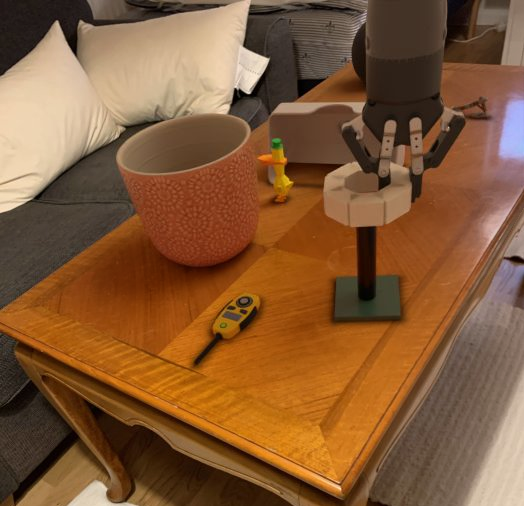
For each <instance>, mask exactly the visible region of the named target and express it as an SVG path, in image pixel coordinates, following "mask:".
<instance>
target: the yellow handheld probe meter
mask: <svg viewBox="0 0 524 506" xmlns="http://www.w3.org/2000/svg"><path fill="white" fill-rule="evenodd" d="M260 306H261V299H260V297H259V295H257V294H255V293H250V292H242V293H240V294H239V295H238V296H236V298H233V299H231V300H229V302H227V304H225V306H223V308H222V309H220V312H218V314H217V316H216V317H215V320H214V322H213V325H212V327H211V328H212V332H213V333H212V334H213V335H215V336H214V338H213V339H212V340H211V341H210V342H209V344H208V345H207V346H206V347H205V348H204V349H203V350H202V352H201V353H199V355H198V356H197V357H196V358H195V359H194V361H193V364H194V365H198V363H200V361H201V360H202V359H203V358H204V357H205V356H206V355H207V354H208V352H210V350H211V349H212V348H213V347H214V345H216V343H217V342H218V341H219V340H222V339H225V340H227V339H228V340H230V339H232V338H233V337H235V336H236V335H237V334H238V333H240V332H242V331H244V330H245V329H246V328H247V327H248V326H249V325H250V324H251V323H252V322H253V320H254V319H255V318H256V316H257V314H258V310H259V308H260Z"/></svg>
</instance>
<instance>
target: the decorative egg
mask: <svg viewBox="0 0 524 506" xmlns="http://www.w3.org/2000/svg"><path fill="white" fill-rule="evenodd" d="M365 38H366V21H364V22H363V23H362V24H361V25H360V26H359V28H358V29H357V31H356V33H355V35H354V38H353V40H352V44H351V50H350V51H351V56H350V57H351V63H352V68H353V71H354V73H355V74H356V76H357V77H358V78H359V80H360V81H361V82H362V83H365V84H366V47H365Z"/></svg>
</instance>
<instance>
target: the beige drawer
mask: <svg viewBox="0 0 524 506" xmlns="http://www.w3.org/2000/svg"><path fill="white" fill-rule="evenodd" d="M365 103H366V101H348V102H347V101H344V102H343V101H340V102H339V101H337V102H336V101H335V102H333V101H330V102H328V101H327V102H281V103H279V104H278V105H277V107H275V109H274V110H273V111H272V112H271V114H270V115H269V116H268V117H267V155H272V152H271V145H272V144H273V142H272V140H273V139H276V138H279V139H281V144H282V145H283V155H284V157H285V158H286V159H287V162H286V164H284V169H285V168H286V166H287V165H288V163H302V164H324V165H325V164H327V165H328V164H329V165H346V164H348V163H351V164H352V162H357V161H356V159H355V157H354V156H353V154H352V152H351V151H350V149H349V147H348V146H347V144H346V142H345V141H344V139H343V138H342V124H343V122H344V121H346V120H350V121H352V120H353V119H355V118H357V117H358V116H360V115H361V114H362V110H363V107H364V105H365ZM362 140H363V142H364V143H365V145H366V147H367V148H368V150H369V152H370V154H371V155H372V157H375V158H378V157H379V149H380V142H379V141H378V140H377V139H376V137H375V136H374V135H373V134H372V132H371V131H370V130H369V129H368V127H367V126H366V125H365V126H364V127H363V138H362ZM405 153H406V145H400V146H397V147H393V151H392V158H391V162H392V163H395V164H397V165H400V166H402V167H404V164H405V155H406V154H405ZM267 166H268V167H267V178H268V182H269V183H270V184H274V179H275V178H276V172H275V169H274V166H272V165H267Z"/></svg>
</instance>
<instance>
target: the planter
mask: <svg viewBox="0 0 524 506" xmlns="http://www.w3.org/2000/svg"><path fill="white" fill-rule="evenodd" d="M253 141H254V140H253V135H252V130H251V127H250V124H248V122H246V121H245V120H244V119H243V118H240V117H238V116H236V115H232V114H229V113H228V114H226V113H218V112H208V113H205V112H203V113H194V114H188V115H181V116H178V117H173V118H169V119H166V120H163V121H161V122H157V123H156V124H153V125H150V126H148V127H146V128H144V129H142V130H140V131H138V132H137V133H135V134H133V135H132V136H131V137H129V138H128V139H126V140H125V142H123V143H122V145H121V146H120V147H119V149H118V150H117V152H116V155H115V161H116V165H117V167H118V170H119V174H120V176H121V178H122V181H123V183H124V186H125V189H126V191H127V193H128V195H129V198H130V201H131V203H132V205H133V207H134V209H135V212H136V213H137V217H138V218H139V221H140V223H141V225H142V227H143V229H144V230H145V233H146V234H147V237H148V238H149V239H150V241H151V243H152V244H153V246H154V247H155V248H156V250H157V251H158V252H159V253H160V254H161V255H162V256H163V257H165V258H166V259H168V260H170V261H172V262H174V263H176V264H179V265H182V266H187V267H194V268H204V267H212V266H216V265H219V264H222V263H225V262H227V261H230V260H231V259H233V258H235V257H237V256H238V255H239V254H240V253H241V252H243V251H244V250H245V249H246V247H247V246H248V245H249V244H250V243H251V242H252V240H253V239H254V237H255V235H256V232H257V230H258V226H259V220H260V196H259V195H260V193H259V192H260V191H259V181H258V172H257V171H258V170H257V163H256V155H255V154H256V153H255V147H254V142H253Z"/></svg>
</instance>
